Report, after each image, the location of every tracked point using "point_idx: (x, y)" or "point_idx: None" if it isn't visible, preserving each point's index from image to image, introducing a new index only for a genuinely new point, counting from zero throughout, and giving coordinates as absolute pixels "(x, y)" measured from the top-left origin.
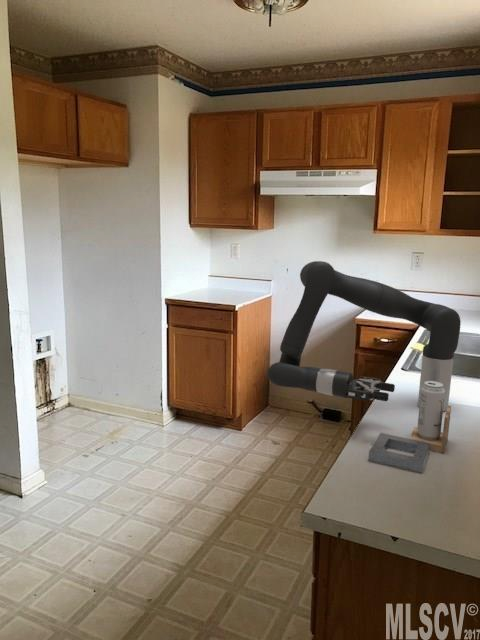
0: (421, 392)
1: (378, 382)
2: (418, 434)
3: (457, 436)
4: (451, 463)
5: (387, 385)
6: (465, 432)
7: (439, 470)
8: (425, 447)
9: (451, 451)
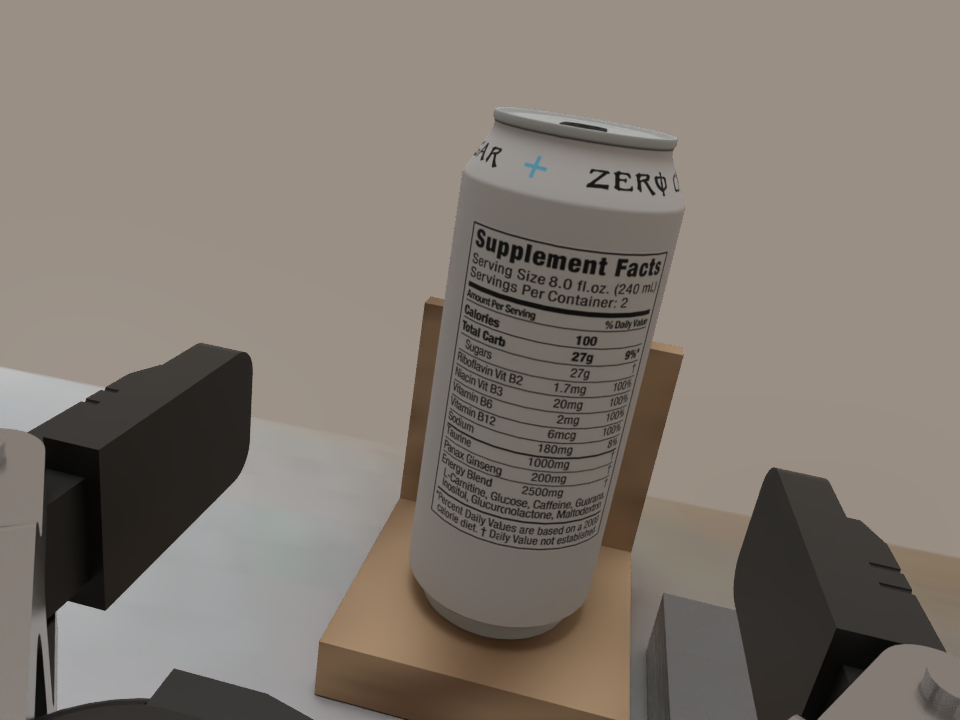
0: (612, 247)
1: (45, 489)
2: (488, 640)
3: (320, 480)
4: None
5: (189, 421)
6: (252, 442)
7: None
8: None
9: None
